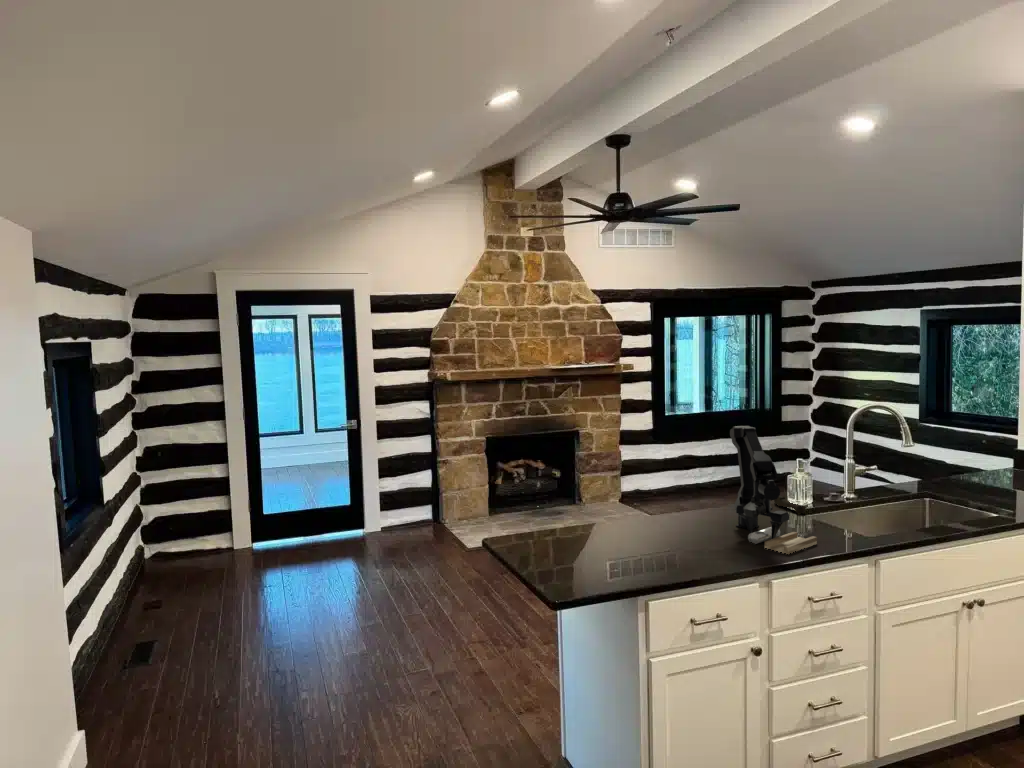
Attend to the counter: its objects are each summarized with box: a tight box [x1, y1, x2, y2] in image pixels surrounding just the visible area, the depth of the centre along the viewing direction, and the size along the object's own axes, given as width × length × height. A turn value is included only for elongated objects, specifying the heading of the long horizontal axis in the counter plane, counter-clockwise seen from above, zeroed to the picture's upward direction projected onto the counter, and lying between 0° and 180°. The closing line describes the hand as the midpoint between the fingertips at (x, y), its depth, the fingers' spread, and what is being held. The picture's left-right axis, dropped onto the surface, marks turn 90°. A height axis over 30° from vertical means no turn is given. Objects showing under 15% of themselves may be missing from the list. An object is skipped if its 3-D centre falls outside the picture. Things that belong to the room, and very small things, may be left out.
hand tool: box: [773, 494, 806, 514], centre depth 307 cm, size 19×4×5 cm, turn 11°
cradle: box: [764, 531, 818, 555], centre depth 256 cm, size 9×18×2 cm, turn 127°
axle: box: [747, 526, 781, 545], centre depth 264 cm, size 14×4×4 cm
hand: (761, 535), depth 265 cm, fingers open, 9 cm apart
